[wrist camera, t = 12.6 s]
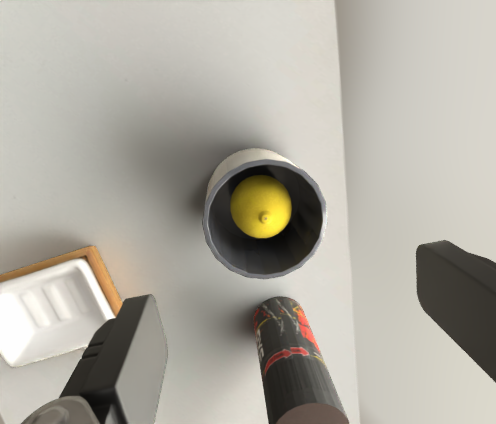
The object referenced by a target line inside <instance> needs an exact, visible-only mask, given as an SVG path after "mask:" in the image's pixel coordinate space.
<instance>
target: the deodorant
mask: <svg viewBox="0 0 496 424" xmlns="http://www.w3.org/2000/svg"><path fill="white" fill-rule="evenodd" d="M254 329H255V336H256V342H257V349H258V355H259V362H260V369H261V375H262V382H263V388H264V395H265V402H266V408H267V415H268V421H269V424H349V421H348V418H347V416H346V414H345V411H344V409H343V406H342V404H341V401H340V399H339V397H338V394H337V392H336V389H335V387H334V384H333V382H332V379H331V377H330V375H329V372H328V370H327V367H326V365H325V362H324V360H323V358H322V355H321V353H320V350H319V348H318V345H317V343H316V341H315V338H314V336H313V333H312V331H311V328H310V326H309V324H308V321H307V319H306V316H305V314H304V311H303V309H302V308H301V306H300V305H299V304H298V303H297V302H296V301H295V300H293V299H290V298H287V297H274V298H271V299H268V300H267V301H265V302H263V303H262V304H261V305H260V306H259V307H258V309H257V310H256V312H255V315H254Z"/></svg>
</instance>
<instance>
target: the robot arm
mask: <svg viewBox="0 0 496 424" xmlns="http://www.w3.org/2000/svg"><path fill="white" fill-rule="evenodd" d="M416 267H417V268H416V273H417V295H418V299H419V302H420V304H421V306H422V308H423V310H424V311H425V312H426V313H427V314H428V315H429V316H430V317H431V318H432V319H433V320H434V321H435V322H436V323H437V324H438V325H439V326H440V327H441V328H442V329H443V330H444V331H445V332H446V333H447V334H448V335H449V336H450V337H451V338H452V339H453V340H454V341H455V342H456V343H457V344H458V345H459V346H460V347H461V348H462V349H463V350H464V351H465V352H466V353H467V354H468V355H469V356H470V357H471V358H472V359H473V360H474V361H475V362H476V363H477V364H478V365H479V366H480V367H481V368H482V369H483V370H484V371H485V372H486V373H487V374H488V375H489V376H490V377H491V378H492V379H493V380H494V381H495V382H496V263H495V262H493V261H491V260H489V259H487V258H484V257H481V256H478V255H474V254H471V253H468V252H466V251H464V250H463V249H461V248H459V247H457V246H455V245H454V244H452V243H451V242H449V241H446V240H443V241H438V242H432V243H427V244H422V245H419V246H418V248H417V251H416ZM167 357H168V349H167V341H166V337H165V333H164V329H163V326H162V322H161V319H160V315H159V312H158V308H157V304H156V301H155V298H154V296H153V295H152V294H149V295H144V296H138V297H133V298H128V299H125V300H124V302H123V304H122V306H121V308H120V310H119V312H118V314H117V316H116V318H112V319H108V320H107V321H106V322H105V323H104V324H103V325H102V326H101V327H100V328H99V329H98V330H97V331H96V332H95V333H94V335H93V337H92V339H91V341H90V342H89V344H88V348H86V350H85V352H84V353H83V355H82V359H80V361H79V362H78V364H77V366H76V368H75V370H74V372H73V373H72V375H71V377H70V379H69V381H68V382H67V384H66V386H65V388H64V390H63V391H62V393H61V395H60V397H59V399H56V400H53V401H51V402H49V403H47V404H45V405H43V406H42V407H40V408H39V409H37V410H36V411H35V412H33V413H32V414H31V415H30V416H28V417H27V418H26V419H25V420H24V421H23V422H22V423H21V424H154V422H155V417H156V412H157V407H158V402H159V397H160V393H161V388H162V383H163V378H164V373H165V368H166V364H167Z"/></svg>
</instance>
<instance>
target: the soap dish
mask: <svg viewBox="0 0 496 424" xmlns="http://www.w3.org/2000/svg"><path fill="white" fill-rule="evenodd" d="M122 304H123V303H122V301H121V299H120V297H119V295H118V292H117V290H116V288H115V286H114V284H113V282H112V280H111V278H110V276H109V273H108V271H107V269H106V267H105V265H104V263H103V261H102V259H101V257H100V254H99V252H98V250H97V248H96V246H88V247H85V248H82V249H78V250H75V251H72V252H69V253H66V254H63V255H60V256H57V257H54V258H51V259H48V260H45V261H41V262H38V263H35V264H32V265H29V266H26V267H23V268H20V269H17V270H14V271H11V272H8V273H5V274H2V275H0V355H1V357H2V358H3V359H4V361H5V362H6V363H7V364H8V365H9V366H10V367H12V368H16V367H21V366H24V365H28V364H31V363H35V362H38V361H41V360H44V359H47V358H51V357H54V356H57V355H60V354H64V353H67V352H70V351H74V350H77V349H80V348H83V347H86V346H88V344H89V342H90V341H91V339H92V337H93V335H94V333H95V332H96V331H97V330H98V329H99V328H100V327H101V326H102V325H103V324H104V323H105V322H106V321H107V320H108V319H112V318H116V316H117V314H118V312H119V310H120V308H121V306H122Z"/></svg>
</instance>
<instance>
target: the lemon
mask: <svg viewBox="0 0 496 424" xmlns="http://www.w3.org/2000/svg"><path fill="white" fill-rule="evenodd" d="M230 211H231V214H232V218H233V220H234V222H235V223H236V225H237V226H238V227H239V228H240V229H241V230H242V231H243V232H244V233H246V234H248V235H249V236H252V237H255V238H268V237H272V236H274V235H276V234H278V233H279V232H281V231H282V230H283V229H284V228H285V226H286V225H287V224H288V222H289V219H290V217H291V211H292V204H291V198H290V196H289V193H288V191H287V189H286V188H285V187H284V185H283V184H282V183H280V182H279V181H278V180H277V179H275V178H272V177H270V176H266V175H254V176H251V177H248V178H246V179H245V180H243V181H242V182H240V183H239V185H238V186H237V187H236V188H235V190H234V192H233V194H232V197H231V201H230Z"/></svg>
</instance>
